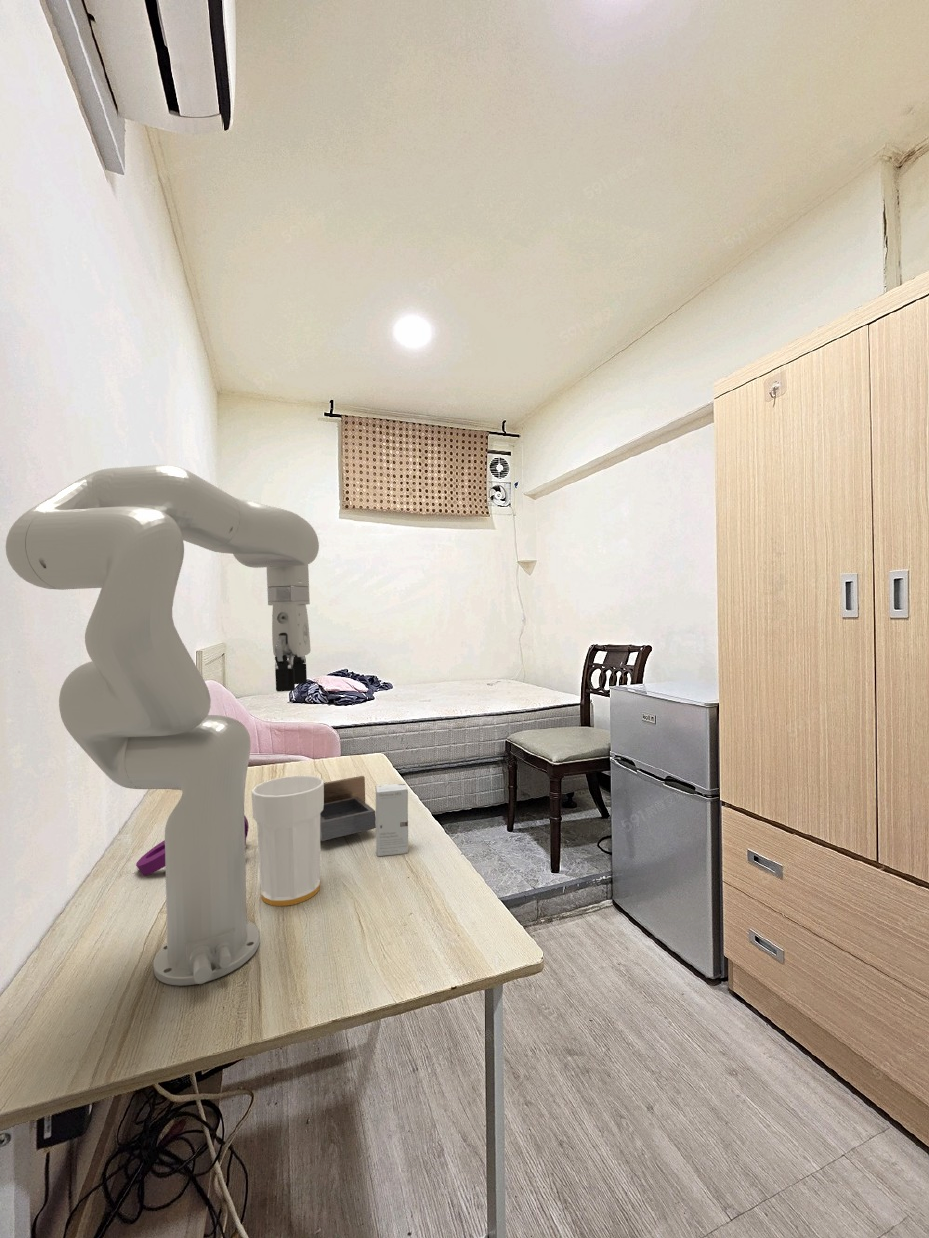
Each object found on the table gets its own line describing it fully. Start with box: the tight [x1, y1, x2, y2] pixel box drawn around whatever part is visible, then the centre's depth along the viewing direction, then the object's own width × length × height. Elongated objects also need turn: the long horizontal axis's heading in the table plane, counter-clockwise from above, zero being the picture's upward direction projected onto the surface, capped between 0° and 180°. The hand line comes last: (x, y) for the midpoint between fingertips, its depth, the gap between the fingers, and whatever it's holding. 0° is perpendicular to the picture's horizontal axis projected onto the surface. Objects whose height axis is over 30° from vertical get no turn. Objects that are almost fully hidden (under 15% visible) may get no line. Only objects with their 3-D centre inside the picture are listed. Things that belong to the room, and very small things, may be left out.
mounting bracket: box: [135, 814, 250, 876], centre depth 97 cm, size 9×8×18 cm
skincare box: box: [375, 783, 409, 857], centre depth 99 cm, size 6×4×12 cm
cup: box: [251, 775, 325, 907], centre depth 85 cm, size 11×11×17 cm
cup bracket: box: [320, 775, 376, 842], centre depth 108 cm, size 14×16×9 cm
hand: (292, 687), depth 98 cm, fingers open, 9 cm apart
